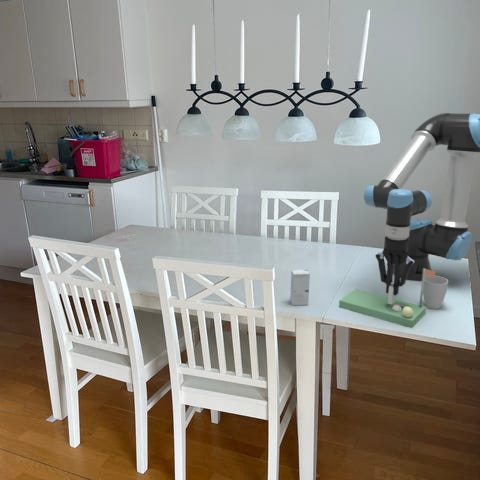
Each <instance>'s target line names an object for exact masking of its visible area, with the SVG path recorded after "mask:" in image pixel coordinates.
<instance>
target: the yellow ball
mask: <svg viewBox="0 0 480 480" xmlns="http://www.w3.org/2000/svg"><path fill="white" fill-rule="evenodd" d="M402 313H403V315H404V316H406V317H410V316H412V314H413V309H412V308H411V307H408V306H406V307H404V308H403V310H402Z"/></svg>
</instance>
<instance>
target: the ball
mask: <svg viewBox="0 0 480 480" xmlns="http://www.w3.org/2000/svg"><path fill="white" fill-rule="evenodd" d="M392 309H393V310H396V311H402V308H401V307H400V306H399V305H394V306H392Z"/></svg>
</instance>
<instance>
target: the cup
mask: <svg viewBox="0 0 480 480" xmlns="http://www.w3.org/2000/svg"><path fill="white" fill-rule="evenodd" d="M448 285H449V280H448V279H447V278H446V277H442V276H439V275H435V278H431V277H427V276H425V280H424V289H423V298H422V299H423V302H424V306H425V307H426V308H428V309H431V310H437V309H440V308H441V307H442V305H443V302H444V300H445V297H446V295H447V290H448Z"/></svg>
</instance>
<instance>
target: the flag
mask: <svg viewBox="0 0 480 480" xmlns="http://www.w3.org/2000/svg"><path fill="white" fill-rule="evenodd" d="M425 276H427V277H431V278H435V276H436V270H432V269H431V270H427V269H425V268H423V275H422V280H421V285H420V286H421V287H420V293H419V294H420V295H419V296H420V297H419V304H418V305H419V307H420V308H421V307H422V306H423V299H424V298H423V289H424V280H425Z"/></svg>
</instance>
